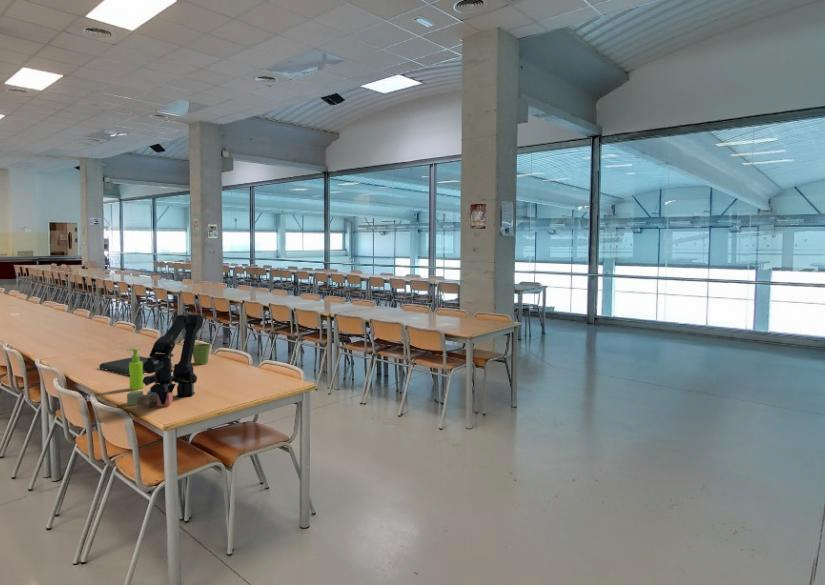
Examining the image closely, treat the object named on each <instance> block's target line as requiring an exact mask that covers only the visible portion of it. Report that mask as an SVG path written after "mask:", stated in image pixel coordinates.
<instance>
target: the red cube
mask: <svg viewBox="0 0 825 585" xmlns="http://www.w3.org/2000/svg"><path fill="white" fill-rule="evenodd" d="M173 394H174V392H173V391H172V392H168V395H167V399H166V402H165V404H164V405H162V404H161V401H160V398H159V396H158V395H157V403H156V404H157V405H156V406H169V407H170V406H171V404H172V403H173V404H174V399H173V397H174V395H173ZM173 404H172V405H173Z"/></svg>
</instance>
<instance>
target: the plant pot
mask: <svg viewBox="0 0 825 585" xmlns="http://www.w3.org/2000/svg"><path fill="white" fill-rule="evenodd" d="M211 346H212V344H211V343H195V344H194V349H193V355H192V358H193V362H194V364H195V365H197V364H199V365H202V364H203V365H206V364H205V363H207V364H208V361H209V355H210V350H211Z"/></svg>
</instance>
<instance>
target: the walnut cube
mask: <svg viewBox="0 0 825 585" xmlns="http://www.w3.org/2000/svg"><path fill="white" fill-rule="evenodd" d="M152 405H153V406H154V403H153V395H147V394H143V395H140V396H139V397H137V405H136V409H137V410H142V409H141V408H149V409H151V408H152V407H153V406H152ZM151 406H152V407H151ZM150 407H151V408H150Z"/></svg>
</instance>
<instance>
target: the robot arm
mask: <svg viewBox="0 0 825 585" xmlns="http://www.w3.org/2000/svg"><path fill="white" fill-rule="evenodd" d="M203 323H204V317H203V315H201V314H200V313H187V314H178V315H176V319H175V320H174V322H173V323H172V325H171V326H170V327H169V329H168V330H167V331H166V333H165V334H164V335H162V336H160V337H158V338H157V339H156V340H155V342H154V344H153V345H152V347H151V348H152V349H151V350H150V354H149V355H148V356H149V357H146V358H147V361H146V362H145V363H144V365H143V369H144V371H145V372H146V373H148V374H149V375H148V374H147V376H143V385H145V386H149V385H151V384H153V385H152V386H151V387H150V388H149V389H150V390H149V391H150V392H156V393H157V394H158V396H159V398H160V401H161V404H162V405H164V404H165V402H166V399H167V395H168V392H173V391H174V388H175V386H176V384H177V386H176V397H178V398H182V397H183V398H185V397H193V395H194V394H195V393H196V391H194V390H195V388H194V386H195V385H194V384H196V382H197V380H198V376H197V375H196V374H195V373H194V367H193V363H192V360H193V349H194V344H196V343H195V342H196V339H197V338H196V337H197V334H198V331H200V330H201V328H202V325H203ZM183 330H184V331H185V332H184V337H183V342H182V347H181V348H182V349H181V354H180V359H179V362H178V363H175V364H174V366H173V368H172V369H171V363H172V357H173V358H174V354H173V353H172V352H173V351H174V350H175V346H176V340H177V338H178V337H179V336H180V334H181V332H183ZM173 382H174V383H173Z"/></svg>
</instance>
